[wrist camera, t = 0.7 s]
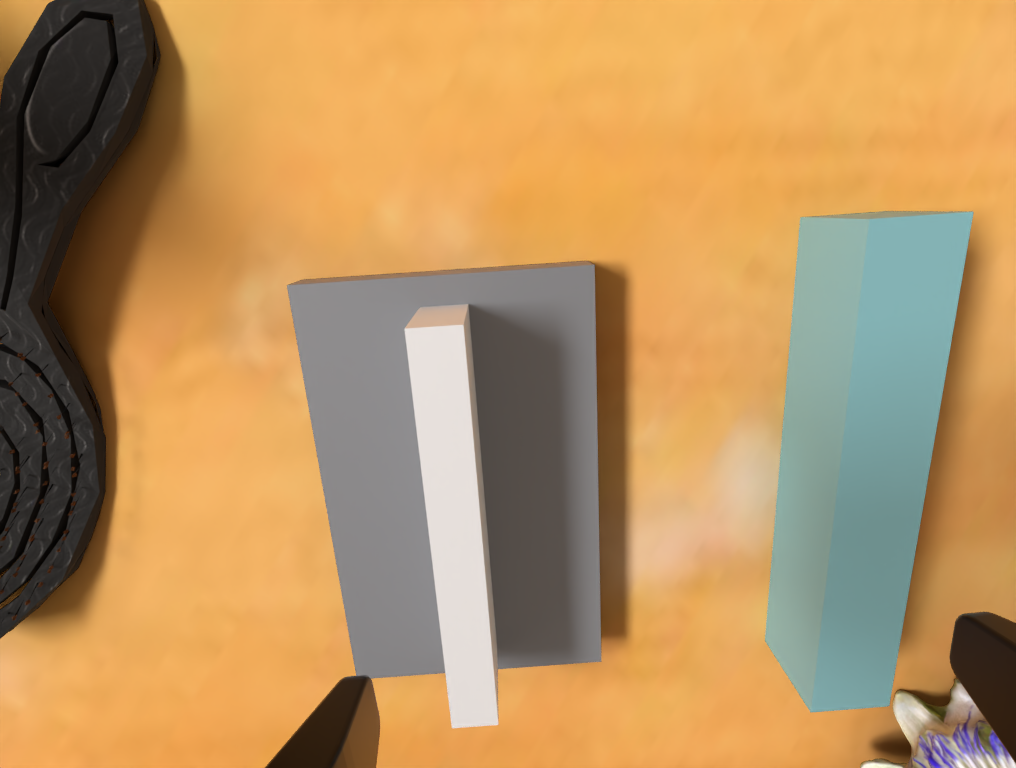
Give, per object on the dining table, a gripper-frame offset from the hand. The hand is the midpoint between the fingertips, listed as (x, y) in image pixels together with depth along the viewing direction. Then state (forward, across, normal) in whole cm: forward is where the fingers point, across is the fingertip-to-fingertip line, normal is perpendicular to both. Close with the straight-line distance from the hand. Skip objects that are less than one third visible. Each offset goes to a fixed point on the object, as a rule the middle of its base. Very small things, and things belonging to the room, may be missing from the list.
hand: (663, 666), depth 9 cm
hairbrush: (+14, +19, -4) cm, 24 cm away
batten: (+14, -10, +4) cm, 17 cm away
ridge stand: (+13, +4, +3) cm, 14 cm away
